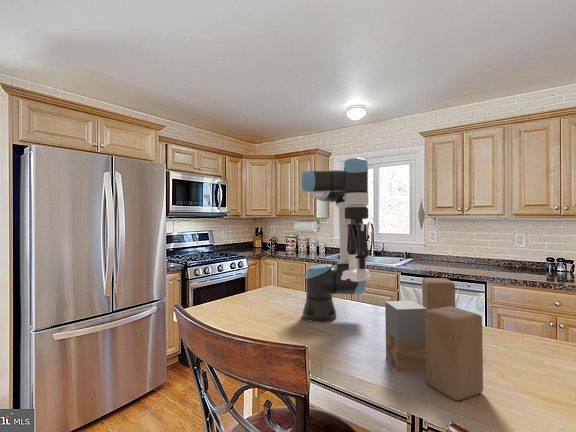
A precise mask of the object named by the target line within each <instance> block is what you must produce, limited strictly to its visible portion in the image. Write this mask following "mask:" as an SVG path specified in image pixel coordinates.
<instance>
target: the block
mask: <svg viewBox="0 0 576 432" xmlns="http://www.w3.org/2000/svg"><path fill="white" fill-rule="evenodd" d="M483 347H484V346H483V316H482V315H481V314H478V313H476V312H473V311H469V310H465V309H461V308H459V307H456V306H455V307H452V306H449V307H443V308H436V309H430V310H426V312H425V355H426V370H425V382H426V384H427V385H428V386H430V387H432V388H433V389H435V390H437V391H439V392H440V393H442V394H444V395H445V396H447V397H449V398H450V399H452V400H455V401H458V402H459V401H461V400H464V399H468V398H470V397H474V396H477V395H480V394H482V393H483V391H484V367H483V366H484V363H483V361H484V360H483V359H484V357H483V355H484V354H483V350H484V349H483Z"/></svg>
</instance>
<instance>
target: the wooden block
mask: <svg viewBox="0 0 576 432" xmlns="http://www.w3.org/2000/svg"><path fill="white" fill-rule="evenodd" d="M421 284H422V286H421V287H422V291H421V292H422V293H421V295H422V306H423V307H425V308H427V310H430V309H436V308H443V307H449V306H452V307H455V308H456V284H455V283H454V281H452V280H450V279H448V278H444V277H443V278H442V277H440V278H439V277H423V278H422V282H421Z"/></svg>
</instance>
